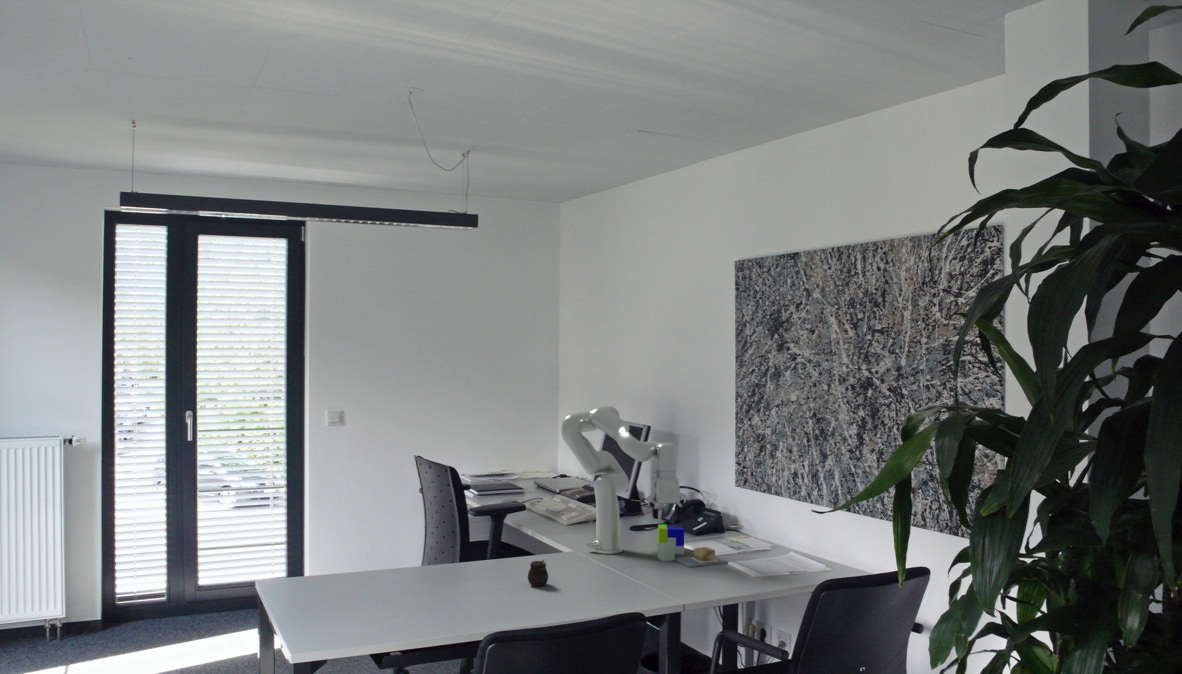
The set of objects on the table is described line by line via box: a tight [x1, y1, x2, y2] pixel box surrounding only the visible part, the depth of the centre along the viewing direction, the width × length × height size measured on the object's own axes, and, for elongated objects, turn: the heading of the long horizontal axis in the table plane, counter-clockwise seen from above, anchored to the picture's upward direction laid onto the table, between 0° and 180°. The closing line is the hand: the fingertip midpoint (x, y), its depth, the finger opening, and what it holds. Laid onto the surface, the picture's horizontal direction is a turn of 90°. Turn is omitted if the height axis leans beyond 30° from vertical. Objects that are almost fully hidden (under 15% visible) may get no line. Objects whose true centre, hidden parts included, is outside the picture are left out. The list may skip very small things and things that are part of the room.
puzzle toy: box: [657, 523, 685, 555], centre depth 360 cm, size 10×10×10 cm
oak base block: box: [693, 546, 716, 562], centre depth 342 cm, size 6×6×4 cm
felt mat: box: [674, 555, 729, 569], centre depth 342 cm, size 17×12×1 cm
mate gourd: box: [527, 559, 549, 588], centre depth 308 cm, size 7×8×10 cm
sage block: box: [657, 542, 676, 562], centre depth 347 cm, size 5×5×6 cm
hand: (666, 517), depth 347 cm, fingers open, 9 cm apart
